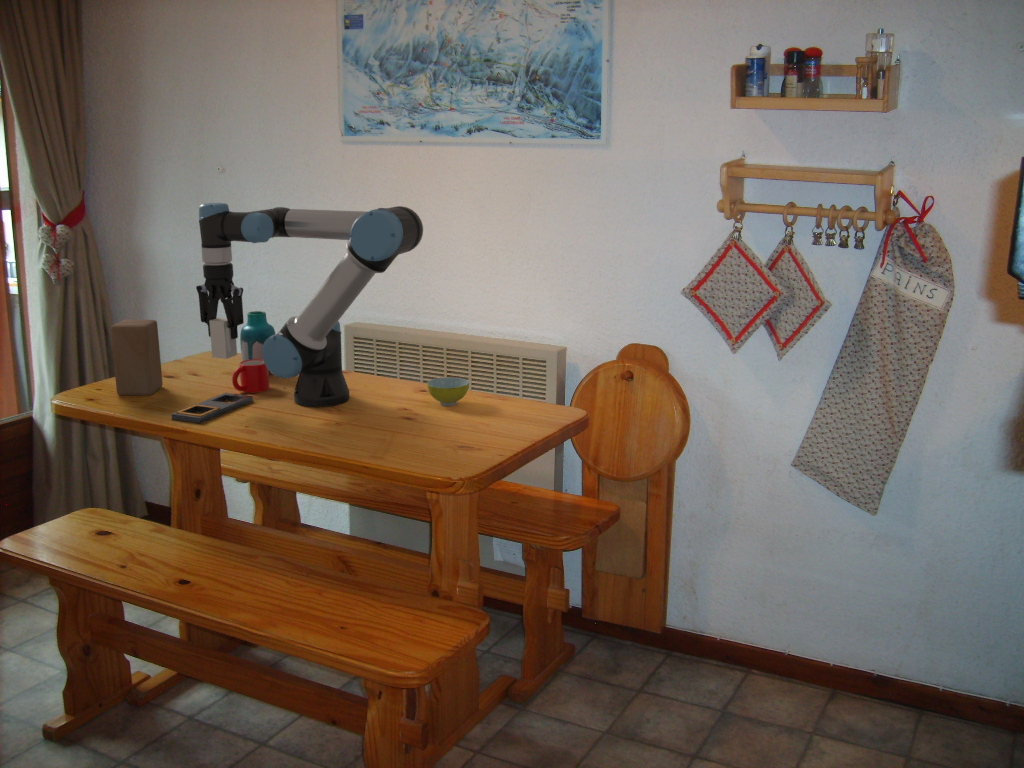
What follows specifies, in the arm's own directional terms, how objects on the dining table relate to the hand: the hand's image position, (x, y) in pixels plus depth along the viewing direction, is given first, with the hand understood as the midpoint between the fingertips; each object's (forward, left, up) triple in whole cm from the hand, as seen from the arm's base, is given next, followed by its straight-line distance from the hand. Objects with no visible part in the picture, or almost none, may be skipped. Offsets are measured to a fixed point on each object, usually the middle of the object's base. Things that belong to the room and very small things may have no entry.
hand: (224, 349), depth 261 cm
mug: (+3, -14, -16) cm, 21 cm away
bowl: (-55, -24, -16) cm, 62 cm away
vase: (+11, -30, -16) cm, 36 cm away
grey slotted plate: (0, +6, -15) cm, 17 cm away
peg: (0, 0, -2) cm, 2 cm away
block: (+31, -1, -16) cm, 35 cm away
